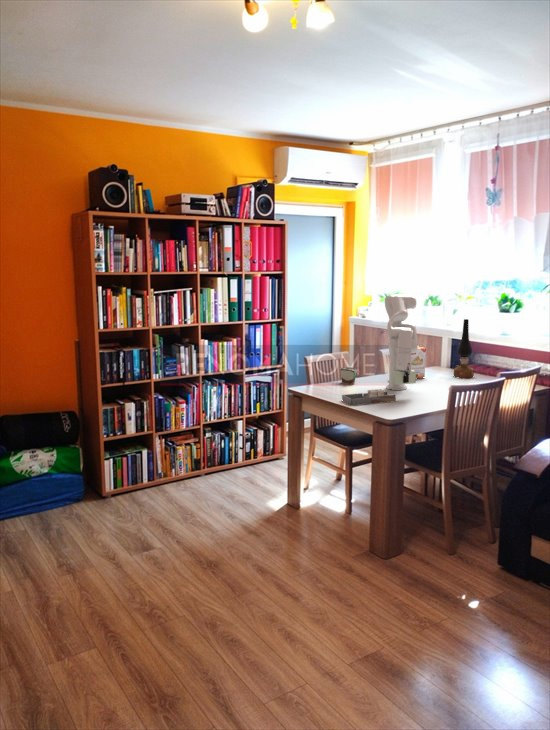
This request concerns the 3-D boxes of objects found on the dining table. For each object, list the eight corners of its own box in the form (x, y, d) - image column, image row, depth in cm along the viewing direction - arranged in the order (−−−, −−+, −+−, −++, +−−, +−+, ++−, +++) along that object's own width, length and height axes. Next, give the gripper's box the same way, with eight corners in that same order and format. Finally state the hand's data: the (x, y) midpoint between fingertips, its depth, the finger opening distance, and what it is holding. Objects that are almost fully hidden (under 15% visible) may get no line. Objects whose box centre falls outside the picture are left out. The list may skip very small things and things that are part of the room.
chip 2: (374, 396, 339) (374, 389, 338) (380, 395, 340) (380, 389, 339) (377, 397, 335) (378, 391, 334) (384, 397, 336) (384, 390, 336)
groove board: (363, 399, 341) (363, 393, 340) (386, 397, 345) (386, 391, 345) (371, 403, 330) (372, 397, 330) (395, 401, 335) (395, 395, 334)
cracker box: (408, 380, 394) (409, 349, 391) (402, 378, 400) (403, 348, 396) (425, 378, 400) (426, 347, 396) (419, 376, 405) (420, 346, 402)
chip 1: (367, 397, 337) (367, 390, 337) (373, 396, 339) (373, 389, 338) (370, 398, 334) (370, 391, 333) (377, 397, 335) (377, 391, 334)
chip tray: (342, 400, 337) (342, 394, 337) (362, 399, 341) (362, 393, 340) (351, 405, 326) (351, 399, 325) (371, 403, 330) (371, 397, 329)
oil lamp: (475, 383, 399) (491, 326, 388) (453, 379, 399) (469, 322, 387) (469, 376, 412) (485, 321, 401) (448, 373, 412) (463, 317, 400)
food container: (360, 383, 384) (360, 368, 382) (354, 385, 380) (354, 369, 378) (346, 381, 393) (346, 366, 391) (339, 382, 389) (340, 367, 387)
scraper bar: (391, 383, 341) (392, 371, 340) (412, 381, 344) (412, 370, 343) (395, 384, 337) (395, 372, 336) (415, 383, 341) (415, 371, 339)
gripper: (391, 349, 344) (390, 379, 347) (406, 352, 329) (405, 384, 332) (402, 348, 347) (402, 379, 350) (418, 352, 331) (417, 384, 334)
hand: (403, 381), depth 341 cm, fingers closed on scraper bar, 4 cm apart
